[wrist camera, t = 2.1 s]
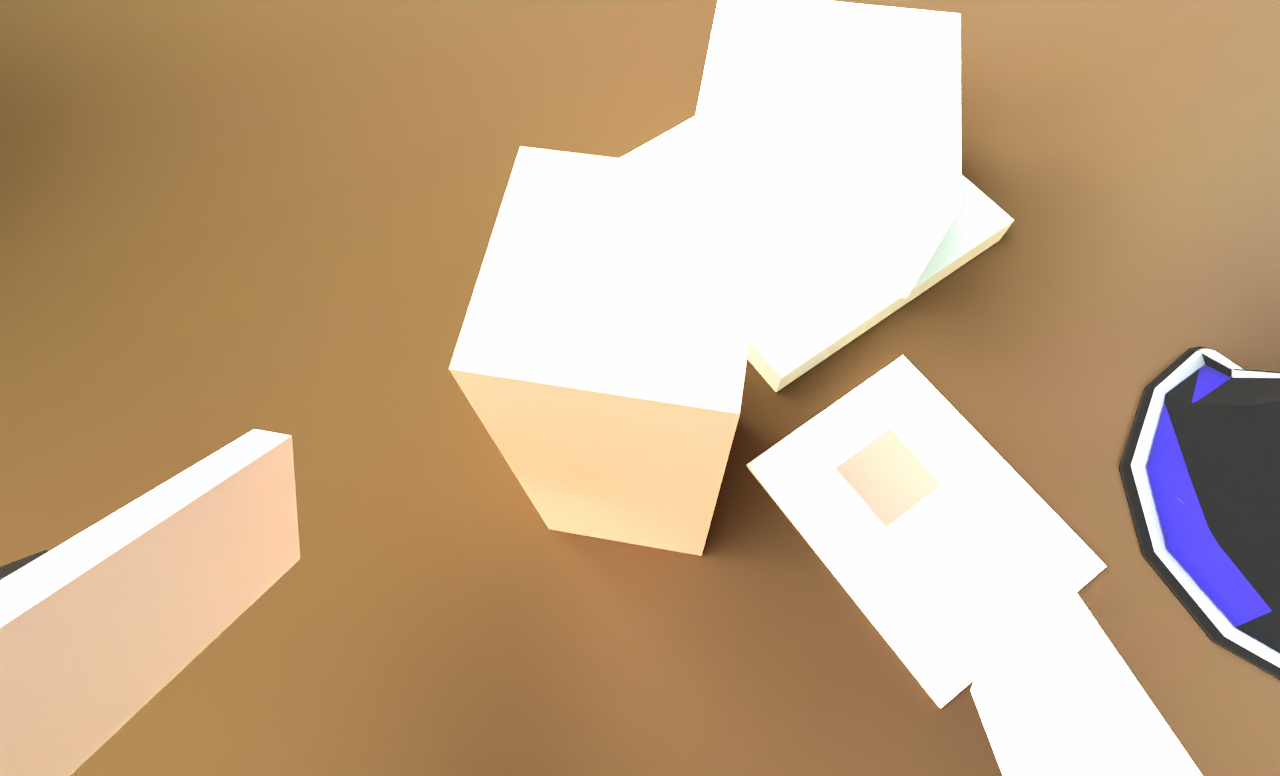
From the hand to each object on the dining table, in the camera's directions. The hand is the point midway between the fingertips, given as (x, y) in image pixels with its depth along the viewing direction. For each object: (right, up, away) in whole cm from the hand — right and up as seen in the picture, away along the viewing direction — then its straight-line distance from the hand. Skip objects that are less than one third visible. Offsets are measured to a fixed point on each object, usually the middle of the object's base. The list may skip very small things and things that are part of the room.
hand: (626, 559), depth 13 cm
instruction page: (+9, -1, +10) cm, 14 cm away
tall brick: (0, 0, +11) cm, 11 cm away
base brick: (+6, +10, +14) cm, 18 cm away
